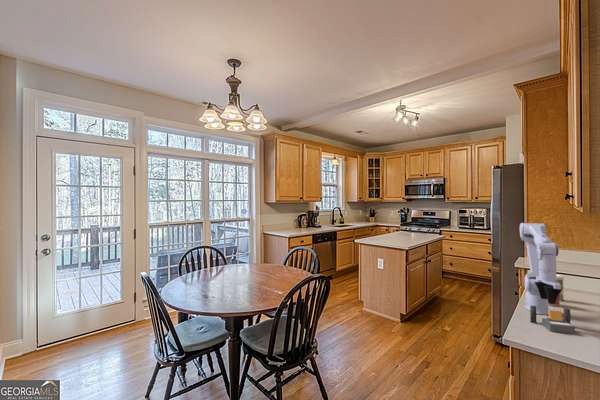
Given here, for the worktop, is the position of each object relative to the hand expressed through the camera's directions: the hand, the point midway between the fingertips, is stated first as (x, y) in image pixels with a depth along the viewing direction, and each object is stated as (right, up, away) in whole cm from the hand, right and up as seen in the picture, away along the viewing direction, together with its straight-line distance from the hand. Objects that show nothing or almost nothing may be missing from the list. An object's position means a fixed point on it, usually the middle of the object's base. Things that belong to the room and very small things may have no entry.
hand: (547, 301), depth 120 cm
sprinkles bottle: (+33, -11, +30) cm, 45 cm away
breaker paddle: (-2, -6, -6) cm, 9 cm away
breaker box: (-2, -9, -7) cm, 12 cm away
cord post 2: (+5, -9, -3) cm, 11 cm away
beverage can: (+22, -10, +22) cm, 33 cm away
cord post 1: (-6, -9, 0) cm, 11 cm away
